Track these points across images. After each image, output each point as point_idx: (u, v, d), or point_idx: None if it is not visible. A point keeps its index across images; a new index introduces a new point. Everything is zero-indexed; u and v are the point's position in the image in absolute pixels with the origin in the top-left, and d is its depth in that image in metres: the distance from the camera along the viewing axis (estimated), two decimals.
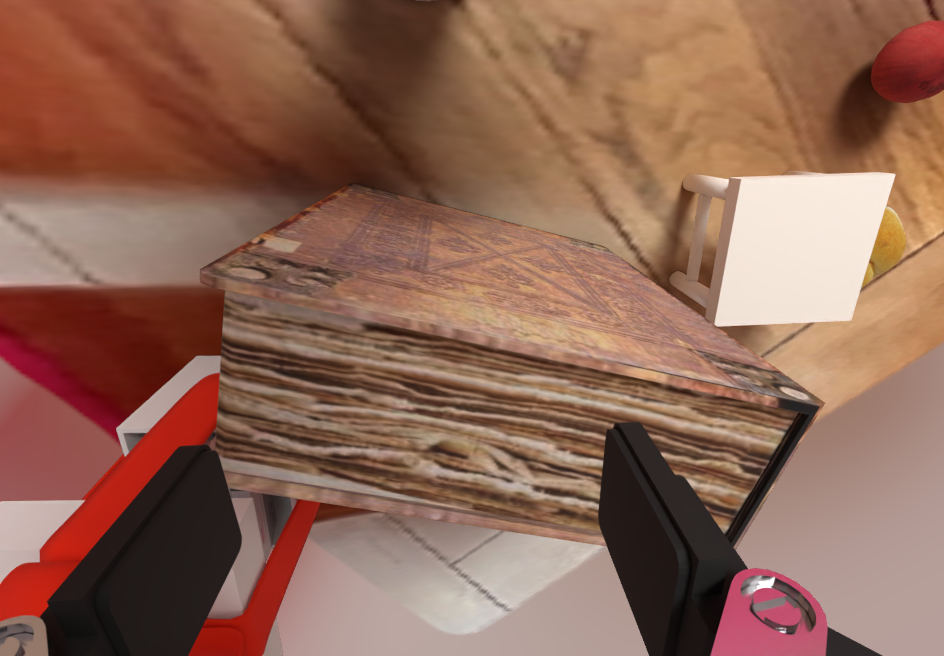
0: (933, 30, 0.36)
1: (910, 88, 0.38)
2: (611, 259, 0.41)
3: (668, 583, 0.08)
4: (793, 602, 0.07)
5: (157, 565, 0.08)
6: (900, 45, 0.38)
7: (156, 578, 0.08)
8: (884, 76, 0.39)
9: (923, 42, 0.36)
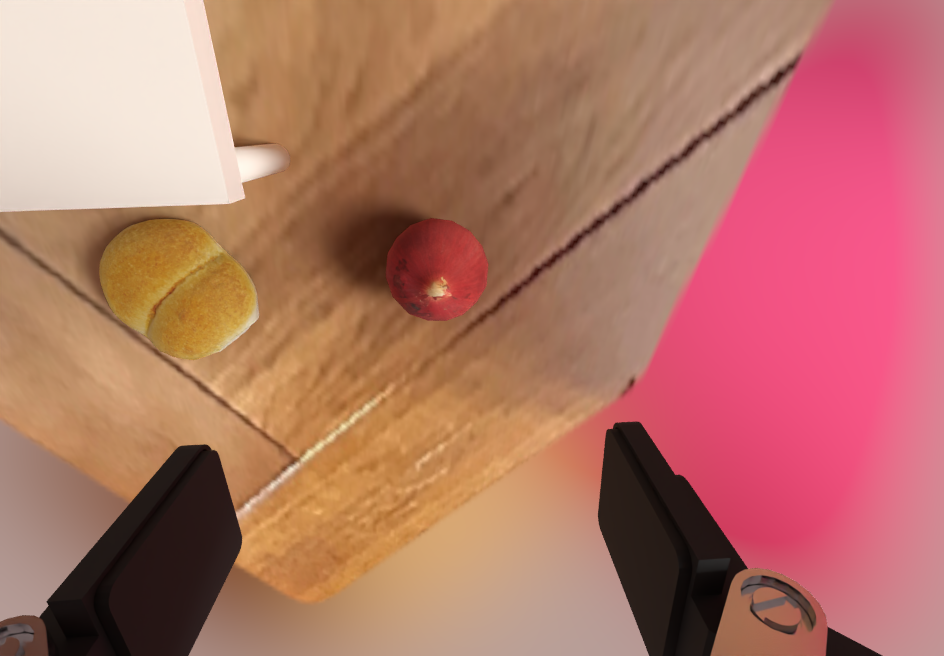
0: (473, 256, 0.25)
1: (398, 252, 0.25)
2: None
3: (668, 583, 0.08)
4: (793, 602, 0.07)
5: (157, 565, 0.08)
6: (456, 228, 0.26)
7: (156, 578, 0.08)
8: (417, 224, 0.26)
9: (457, 245, 0.25)
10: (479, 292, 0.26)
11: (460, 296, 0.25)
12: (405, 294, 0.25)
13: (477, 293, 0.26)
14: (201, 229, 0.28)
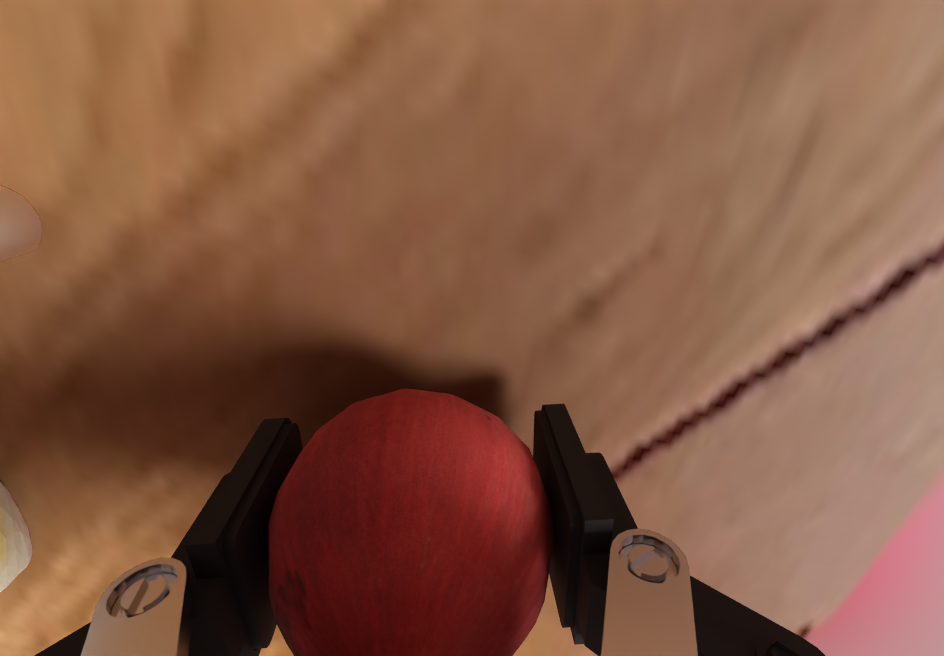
0: (521, 546, 0.08)
1: (287, 539, 0.08)
2: None
3: (566, 544, 0.09)
4: (660, 552, 0.08)
5: (262, 521, 0.09)
6: (469, 445, 0.09)
7: (262, 532, 0.09)
8: (355, 426, 0.09)
9: (473, 526, 0.08)
10: None
11: None
12: None
13: None
14: None
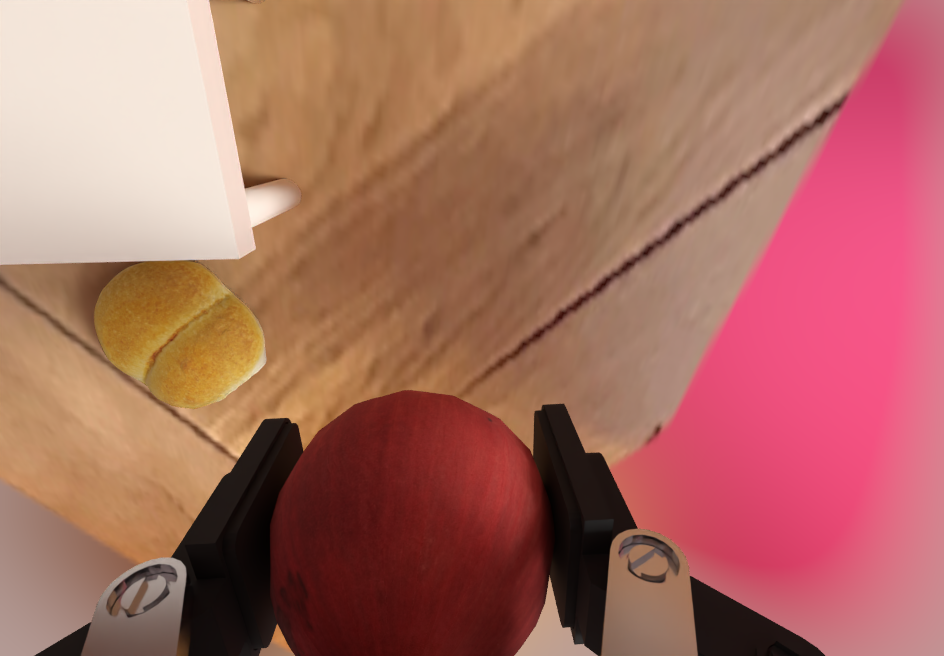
0: (522, 548, 0.08)
1: (289, 540, 0.08)
2: None
3: (566, 545, 0.09)
4: (660, 552, 0.08)
5: (263, 521, 0.09)
6: (470, 447, 0.09)
7: (262, 532, 0.09)
8: (356, 428, 0.09)
9: (474, 529, 0.08)
10: None
11: None
12: None
13: None
14: (206, 270, 0.26)
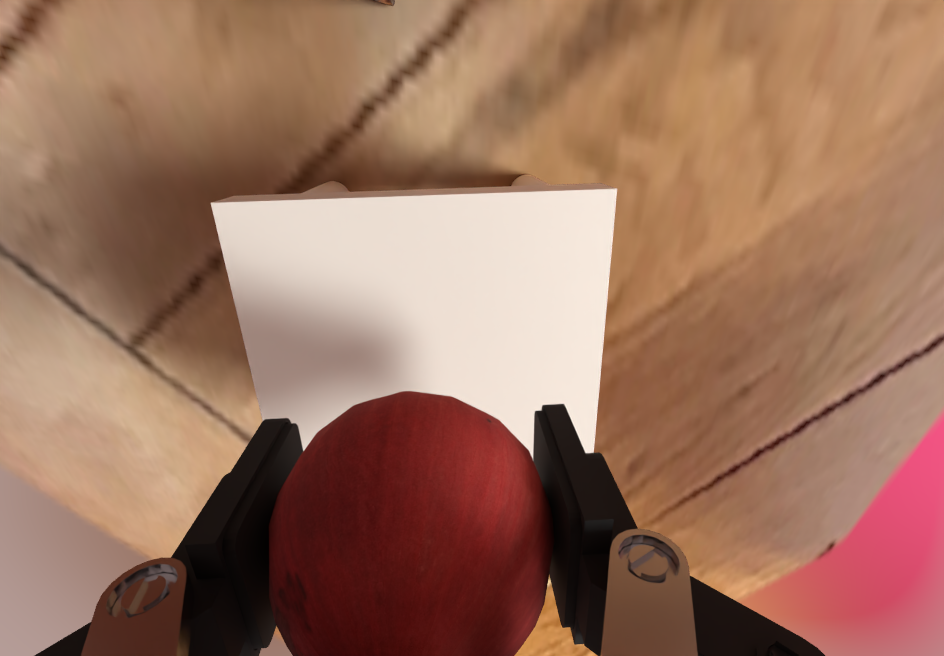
0: (521, 549, 0.08)
1: (287, 541, 0.08)
2: None
3: (566, 545, 0.09)
4: (660, 552, 0.08)
5: (263, 521, 0.09)
6: (469, 448, 0.09)
7: (262, 532, 0.09)
8: (355, 429, 0.09)
9: (473, 529, 0.08)
10: None
11: None
12: None
13: None
14: None
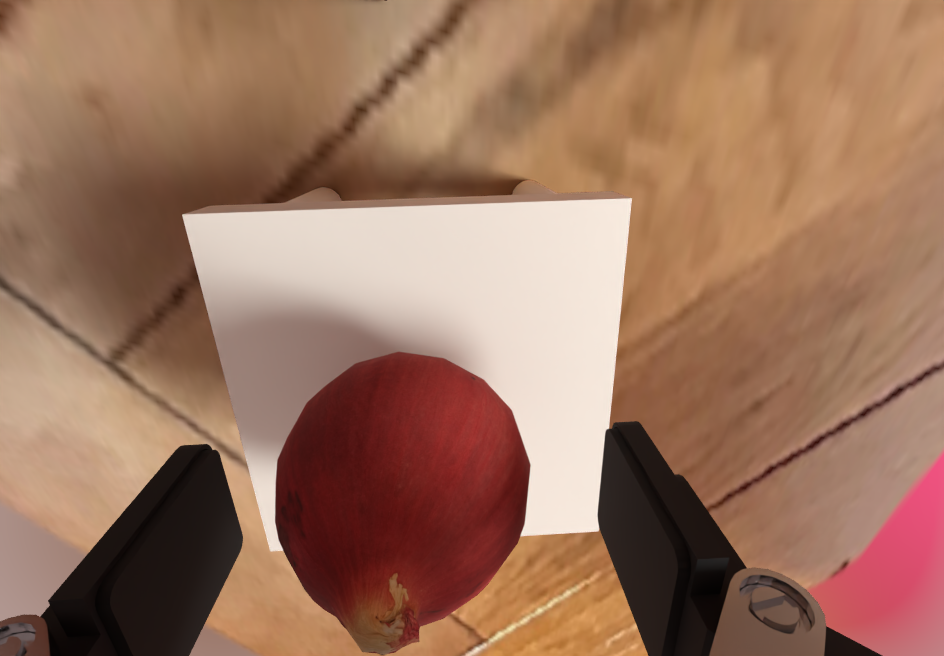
0: (492, 482, 0.09)
1: (290, 466, 0.09)
2: None
3: (667, 583, 0.08)
4: (792, 601, 0.07)
5: (158, 564, 0.08)
6: (450, 395, 0.10)
7: (157, 577, 0.08)
8: (353, 377, 0.10)
9: (446, 459, 0.09)
10: None
11: (453, 601, 0.09)
12: (303, 585, 0.09)
13: None
14: None
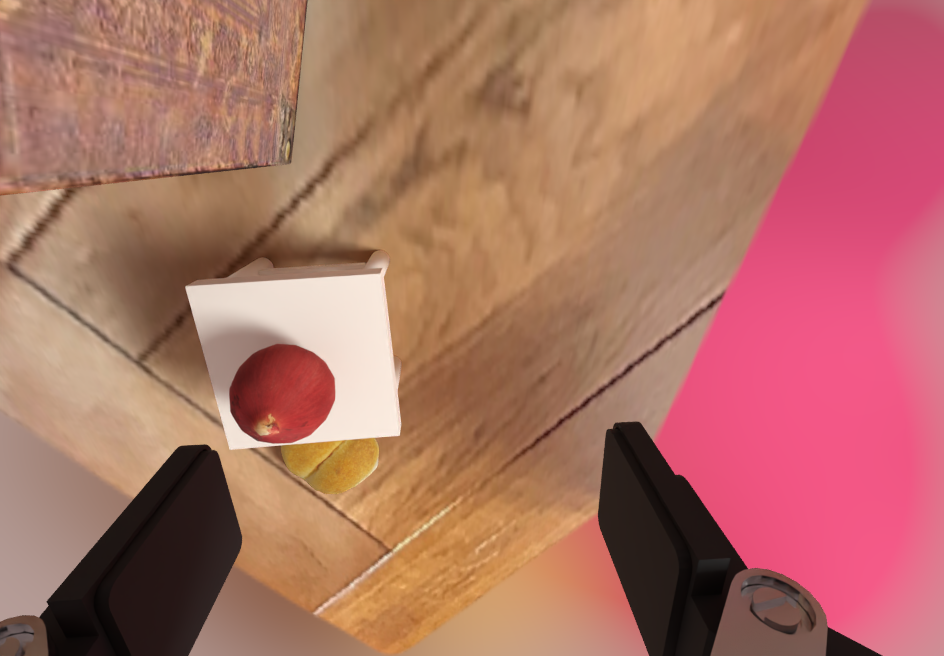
0: (307, 386, 0.26)
1: (234, 387, 0.26)
2: (263, 140, 0.30)
3: (668, 583, 0.08)
4: (793, 602, 0.07)
5: (157, 565, 0.08)
6: (293, 357, 0.27)
7: (156, 578, 0.08)
8: (256, 354, 0.27)
9: (289, 378, 0.26)
10: (321, 416, 0.27)
11: (295, 426, 0.26)
12: (242, 427, 0.26)
13: (318, 418, 0.27)
14: None
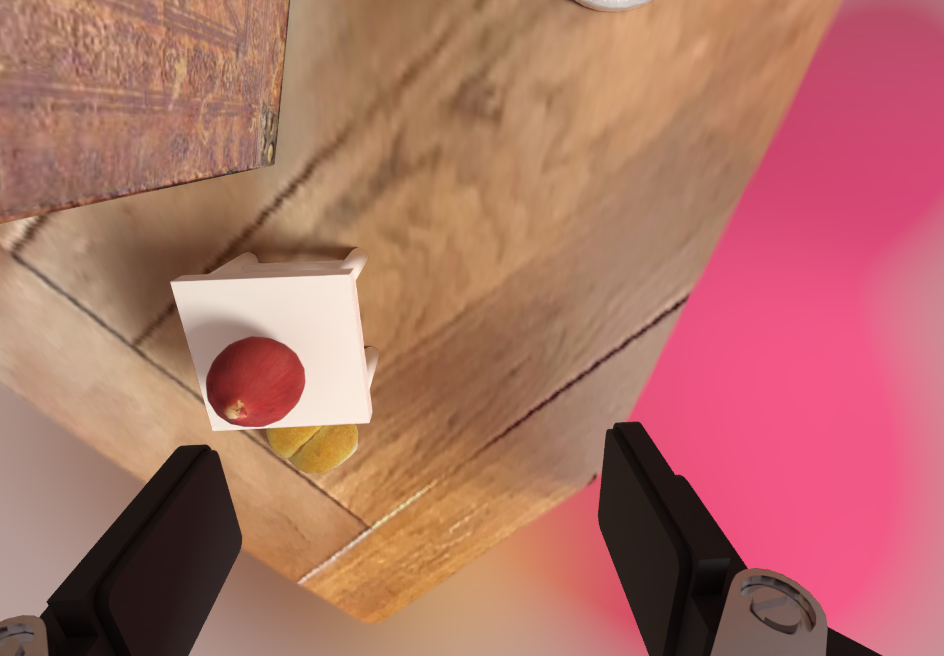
0: (275, 376, 0.29)
1: (209, 374, 0.29)
2: (243, 147, 0.32)
3: (668, 583, 0.08)
4: (793, 602, 0.07)
5: (157, 565, 0.08)
6: (263, 349, 0.29)
7: (156, 578, 0.08)
8: (231, 345, 0.30)
9: (258, 368, 0.28)
10: (288, 403, 0.30)
11: (263, 412, 0.28)
12: (215, 411, 0.29)
13: (285, 405, 0.29)
14: None
